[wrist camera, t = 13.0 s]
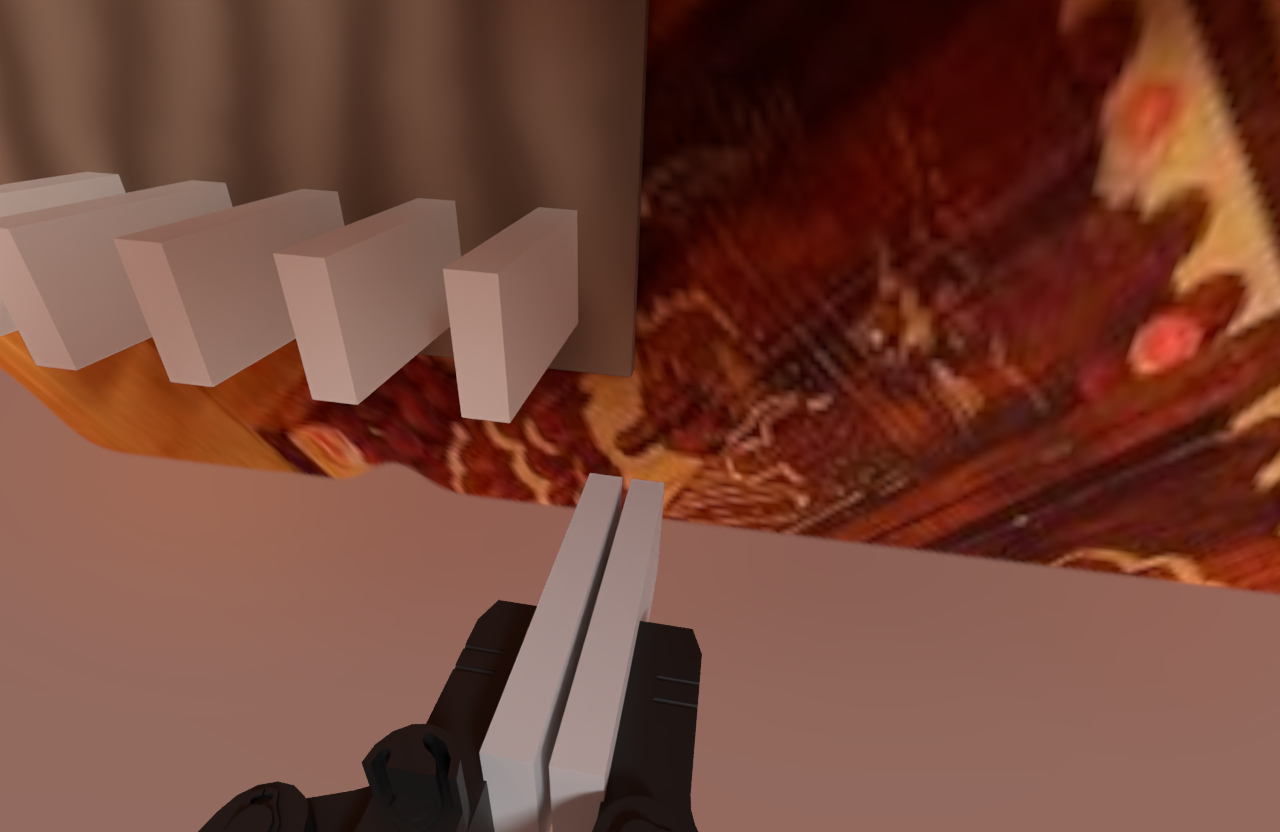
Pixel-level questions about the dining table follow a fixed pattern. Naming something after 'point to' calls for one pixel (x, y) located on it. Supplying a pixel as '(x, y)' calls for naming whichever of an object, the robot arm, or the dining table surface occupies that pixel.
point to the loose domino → (512, 311)
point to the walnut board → (356, 116)
